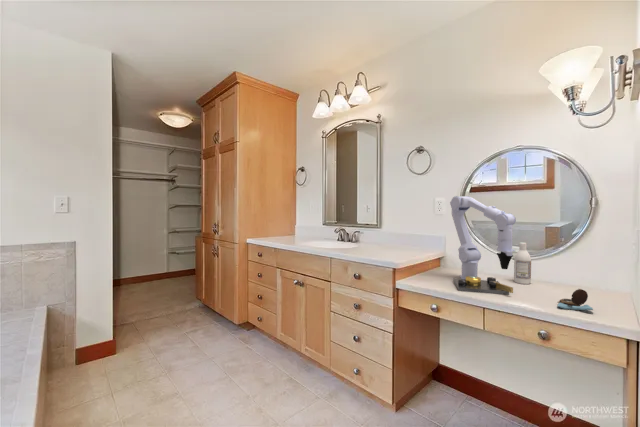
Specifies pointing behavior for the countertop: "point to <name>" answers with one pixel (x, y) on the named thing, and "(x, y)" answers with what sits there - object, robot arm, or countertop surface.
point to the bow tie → (574, 307)
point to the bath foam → (522, 265)
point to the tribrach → (477, 285)
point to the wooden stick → (501, 286)
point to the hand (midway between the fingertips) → (504, 268)
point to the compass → (576, 298)
